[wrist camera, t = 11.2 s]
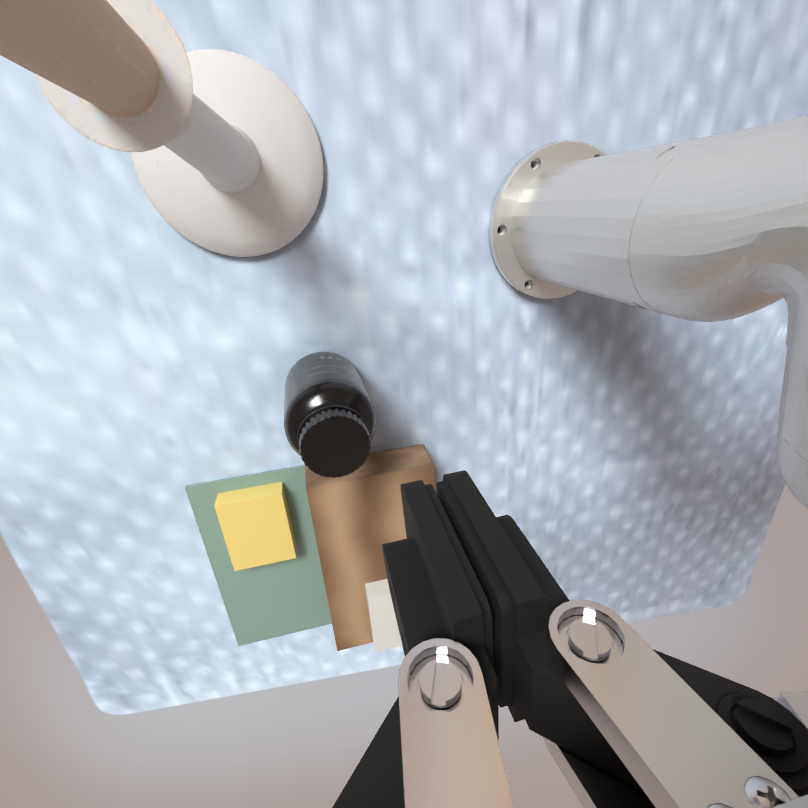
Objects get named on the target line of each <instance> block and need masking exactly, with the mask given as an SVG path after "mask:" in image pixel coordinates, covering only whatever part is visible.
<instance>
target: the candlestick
mask: <svg viewBox="0 0 808 808" xmlns="http://www.w3.org/2000/svg"><path fill="white" fill-rule="evenodd" d="M0 55H1V56H3V57H5V58H7V59H9V60H11V61H13V62H14V63H16V64H18V65H20V66H22V67H24V68H26V69H28V70H29V71H31V72H33V73H34V75H35V78H36V80H37V82H38V84H39V86H40V87H41V89H42V91H43V93H44V95H45V97H46V98H47V99H48V101H49V102H50V104H51V105H52V106H53V108H54V109H55V110H56V111H57V112H58V113H59V115H60V116H61V117H62V118H63V119H64V120H65V121H66V122H67V123H69V124H70V125H71V126H72V127H73V128H74V129H75V130H76V131H78V132H79V133H81V134H82V135H84V136H85V137H87V138H88V139H90V140H92V141H94V142H96V143H98V144H100V145H103V146H105V147H108V148H111V149H115V150H119V151H124V152H131V154H132V159H133V164H134V167H135V170H136V173H137V176H138V179H139V181H140V183H141V185H142V188H143V190H144V191H145V193H146V195H147V197H148V199H149V200H150V202H151V203H152V205H153V206H154V207H155V209H156V210H157V211H158V213H159V214H160V215H161V216H162V217H163V218H164V220H165V221H166V222H167V223H168V224H169V225H170V226H172V227H173V228H174V229H175V230H176V231H177V232H178V233H180V234H181V235H182V236H184V237H185V238H187V239H188V240H190V241H191V242H193V243H195V244H197V245H199V246H201V247H203V248H205V249H207V250H210V251H213V252H216V253H219V254H223V255H228V256H236V257H252V256H259V255H264V254H267V253H270V252H273V251H276V250H278V249H280V248H282V247H284V246H285V245H287V244H288V243H290V242H291V241H293V240H294V239H295V238H296V237H297V236H298V235H299V234H300V233H301V232H302V231H303V230H304V229H305V227H306V226H307V225H308V223H309V222H310V220H311V218H312V217H313V215H314V213H315V211H316V208H317V206H318V203H319V200H320V196H321V192H322V186H323V157H322V151H321V146H320V142H319V138H318V135H317V132H316V129H315V127H314V124H313V122H312V120H311V118H310V116H309V114H308V112H307V111H306V109H305V107H304V106H303V104H302V103H301V101H300V100H299V98H298V97H297V96H296V94H295V93H294V92H293V91H292V90H291V89H290V87H289V86H288V85H287V84H286V83H285V82H284V81H283V80H282V79H280V78H279V77H278V76H277V75H276V74H275V73H273V72H272V71H271V70H269V69H268V68H266V67H265V66H263V65H262V64H260V63H258V62H256V61H254V60H252V59H250V58H248V57H245V56H243V55H240V54H237V53H233V52H229V51H224V50H215V49H204V50H195V51H190V52H186V51H185V48H184V46H183V44H182V42H181V40H180V38H179V36H178V34H177V33H176V31H175V29H174V28H173V26H172V24H171V23H170V22H169V20H168V19H167V18H166V16H165V15H164V14H163V13H162V12H161V11H160V10H159V9H158V8H157V6H156V5H155V4H154V3H153V2H151V1H150V0H0Z"/></svg>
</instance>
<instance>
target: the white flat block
mask: <svg viewBox="0 0 808 808" xmlns="http://www.w3.org/2000/svg"><path fill="white" fill-rule="evenodd" d="M365 589H366V596H367V603H368V610H369V617H370V624H371V631H372V638H373V643H374V649H375V652H378V651H382V650H386V649H389V648H393V647H397V646H401V645H402V641H401V637H400V633H399V629H398V625H397V620H396V616H395V612H394V608H393V603H392V599H391V594H390V590H389V585H388V580H387V579H384V580H380V581H375V582H371V583H367V584H365Z"/></svg>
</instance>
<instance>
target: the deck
mask: <svg viewBox="0 0 808 808" xmlns="http://www.w3.org/2000/svg"><path fill="white" fill-rule="evenodd" d="M305 477H306V491H307V496H308V502H309V507H310V512H311V517H312V522H313V527H314V532H315V537H316V543H317V548H318V553H319V558H320V563H321V568H322V573H323V579H324V584H325V589H326V594H327V599H328V604H329V609H330V614H331V620H332V625H333V630H334V635H335V640H336V645H337V650H338V651H339V650H343V649H347V648H351V647H355V646H359V645H363V644H367V643H371V642H373V638H372V631H371V624H370V617H369V610H368V603H367V596H366V589H365V584H367V583H371V582H375V581H380V580H384V579H387V574H386V569H385V562H384V556H383V550H382V544H386V543H390V542H394V541H398V540H403V539H407V537H406V529H405V521H404V513H403V505H402V497H401V489H400V485H401V484H404V483H408V482H413V481H418V480H423V482H424V484H425V485H427V484H432V485H433V487H434V489H435V470H434V463H433V462H432V460H431V458H430V456H429V454H428V452H427V451H426V449H425V447H424V445H417V446H411V447H406V448H400V449H394V450H388V451H383V452H377V453H371V454H369V455H368V456H367V460H366V461H364V464H363V465H362V466H360V468H359V469H358V470H355V471H354V472H353V473H350V474H349V475H347V476H342V477H336V478H332V477H329V478H327V477H325V476H320V475H319V474H315V473H314V472H313V471H311V470H309V468H308V467H307V466H306V465H305Z"/></svg>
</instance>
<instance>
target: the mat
mask: <svg viewBox="0 0 808 808" xmlns="http://www.w3.org/2000/svg"><path fill="white" fill-rule="evenodd" d="M278 482H283V487H284V492H285V496H286V501H287V505H288V510H289V514H290V519H291V523H292V528H293V532H294V537H295V541H296V558H294V559H290V560H285V561H280V562H276V563H271V564H266V565H261V566H257V567H252V568H247V569H243V570H238V571H234V568H233V565H232V562H231V558H230V555H229V552H228V549H227V545H226V542H225V539H224V536H223V533H222V529H221V526H220V523H219V520H218V516H217V513H216V510H215V507H214V505H215V502H216V498H217V494H218V493H222V492H228V491H233V490H239V489H244V488H250V487H255V486H261V485H267V484H272V483H278ZM185 489H186V492H187V495H188V498H189V501H190V504H191V507H192V510H193V513H194V516H195V519H196V522H197V524H198V527H199V530H200V533H201V536H202V539H203V542H204V545H205V548H206V551H207V554H208V557H209V560H210V563H211V566H212V569H213V572H214V575H215V578H216V581H217V584H218V586H219V589H220V592H221V595H222V598H223V601H224V604H225V607H226V610H227V613H228V616H229V619H230V622H231V625H232V628H233V631H234V634H235V637H236V640H237V643H238V645H239V646H240V645H245V644H249V643H253V642H257V641H261V640H265V639H269V638H273V637H278V636H282V635H286V634H290V633H294V632H298V631H302V630H306V629H311V628H315V627H319V626H323V625H327V624H331V623H332V620H331V614H330V609H329V604H328V599H327V594H326V589H325V584H324V579H323V573H322V568H321V563H320V558H319V553H318V548H317V543H316V537H315V532H314V527H313V522H312V517H311V512H310V507H309V502H308V496H307V491H306V477H305V465H302V466H297V467H291V468H285V469H280V470H274V471H268V472H262V473H257V474H251V475H245V476H239V477H234V478H228V479H222V480H217V481H211V482H205V483H199V484H194V485H188V486H186V487H185Z"/></svg>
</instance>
